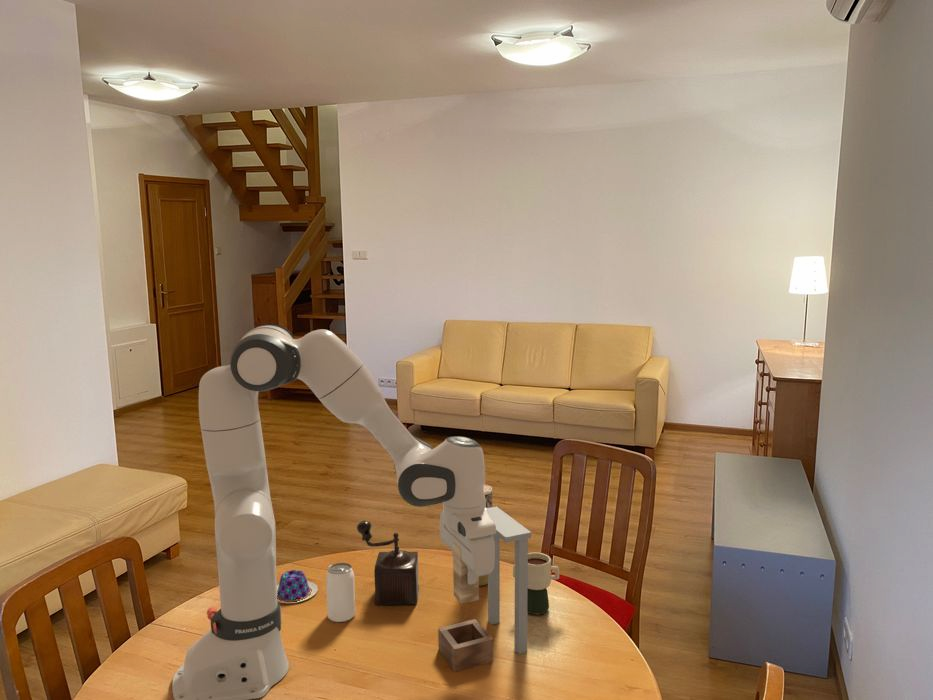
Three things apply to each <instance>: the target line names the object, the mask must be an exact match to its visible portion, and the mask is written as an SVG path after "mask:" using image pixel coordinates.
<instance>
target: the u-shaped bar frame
mask: <svg viewBox="0 0 933 700" xmlns="http://www.w3.org/2000/svg"><path fill="white" fill-rule="evenodd" d="M487 510H488V513H489V515H490V517H491V519H492V520H493V522H494V523H495V525H496V534H493V535H492V536H493V538H494V543H495V563H494V570H493V571H492V573H491V574H488V584H487V621H488V622H489V624H491V625H497V624H499V623H500V622H501V621H500V611H501V610H500V601H501V599H500V598H501V596H500V595H501V593H500V586H501V583H500V582H501V581H500V579H501V578H500V577H501V576H500V575H501V574H500V572H501V569H500V568H501V567H500V566H501V564H500V562H501V560H500V558H501V557H500V555H501V554H500V552H501V551H500V548H501V547H500V545H501V543H500V542H501V541H503V542H504V543H505V544H506V543H513V542H514V565H515V578H514V637H513V639H514V643H513V644H514V645H513V646H514V647H513V648H514V651H515V652H516V653H517V654H518V655H522V654H526V653H528V612H527V591H528V551H529V550H528V549H529V547H528V546H529V544H528V543H529V539H531V538H532V532H531V531H530V530H529V529H528V528H526V527H525V526H524V525H522V524H521V523H519V522H518V521H517V520H515V519H514V518H512V517H511V516H510V515H509V514H507V513H506V512H505V511H503V509H500V508H499V507H498V506H492V507H491V508H487Z"/></svg>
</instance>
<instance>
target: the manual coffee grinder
mask: <svg viewBox="0 0 933 700" xmlns="http://www.w3.org/2000/svg"><path fill="white" fill-rule="evenodd" d="M372 528H373V526H372V523H371V521H369V520H362V521H360V522H359V523H358V524H357V525H356V530H357V533H359V534H360V535H361V540H362V541H365V544H366V545H367V546H369V547H372V548H373V547H383V546H390V545H391V544H393V543H394V549H393V550H390V551H379V552H378V554H377V558H376V561H375V564H374V572H373V573H374V576H373V577H374V593H375V594H374V605H375V606H378V607H397V606H398V607H399V606H400V607H402V605H405V606H417V603H418V599H419V593H418V592H419V591H420V586H419V585H420V584H419V554H418V553H419V552H418V551H406V550H402V549H401V550H400V547H399V540H400V538H399V533H398V532H394V533H393V535H392V536H393V538H392V539H391V540H387V541H380V542H371V539H372V538H373V534H371V529H372Z"/></svg>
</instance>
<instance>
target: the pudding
mask: <svg viewBox="0 0 933 700" xmlns="http://www.w3.org/2000/svg"><path fill="white" fill-rule="evenodd" d="M307 579H308V578H307V577H306V574H305V573H304V572H303V571H301V570H298V569H292V570H287V571H285V572H284V573H282V574H281V576H280V579H279V583H277V590H278V592H277V596H278V597H277V598H278V599H279V598H281V599H280V600H282V601H284V600H290V601H294V600H295V601H297V600H296V599H299V600H300V601H297V602H282V601H279V604H296V603H300V602H303V601H306V600H309V599H310V598H312V597H314V596H315V595H316V593H317V592H318V588H319V587H318V585H316V584H315V583H314V582H312V581H309V580H307ZM309 587H310V588H311V589H312V592H311V590H310V588H309ZM308 592H309V593H310V592H311V595H310V596H308V595H309V593H308ZM305 596H306V597H307V596H308V597H307V598H305ZM301 597H303V598H305V599H303V598H301ZM282 598H283V599H282ZM300 598H301V599H303V600H301V599H300ZM291 599H292V600H291Z"/></svg>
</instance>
